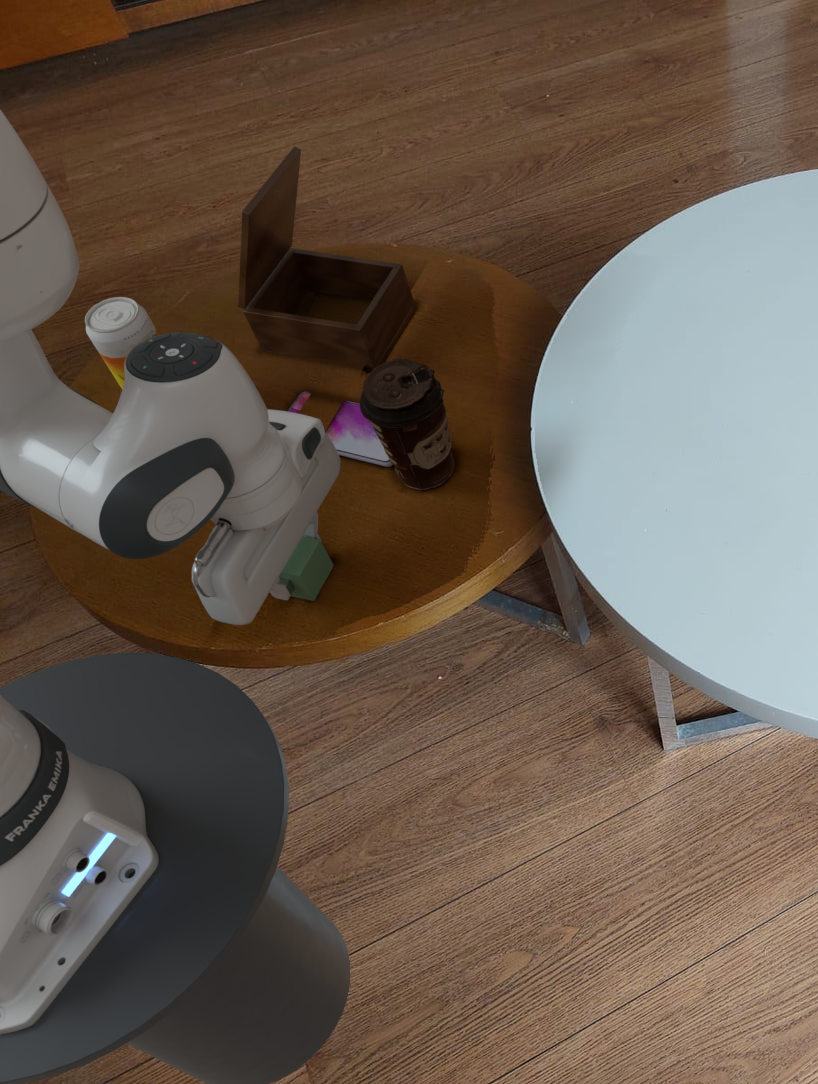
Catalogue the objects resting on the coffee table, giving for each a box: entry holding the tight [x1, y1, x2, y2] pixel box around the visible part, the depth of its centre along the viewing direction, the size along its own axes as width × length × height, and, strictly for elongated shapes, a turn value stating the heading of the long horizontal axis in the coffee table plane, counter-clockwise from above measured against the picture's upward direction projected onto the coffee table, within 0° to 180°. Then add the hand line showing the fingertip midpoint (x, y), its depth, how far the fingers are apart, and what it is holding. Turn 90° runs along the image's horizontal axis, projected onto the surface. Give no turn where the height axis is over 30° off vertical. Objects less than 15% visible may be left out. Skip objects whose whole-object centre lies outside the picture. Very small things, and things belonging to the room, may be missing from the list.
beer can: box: [84, 296, 160, 391], centre depth 120 cm, size 6×6×15 cm
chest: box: [243, 247, 417, 374], centre depth 130 cm, size 15×12×7 cm
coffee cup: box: [359, 358, 455, 491], centre depth 115 cm, size 9×8×13 cm
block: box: [279, 536, 335, 602], centre depth 110 cm, size 4×4×4 cm
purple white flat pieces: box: [287, 391, 394, 468], centre depth 123 cm, size 7×1×15 cm
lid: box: [237, 145, 302, 311], centre depth 122 cm, size 15×12×1 cm
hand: (298, 569), depth 110 cm, fingers closed on block, 4 cm apart
